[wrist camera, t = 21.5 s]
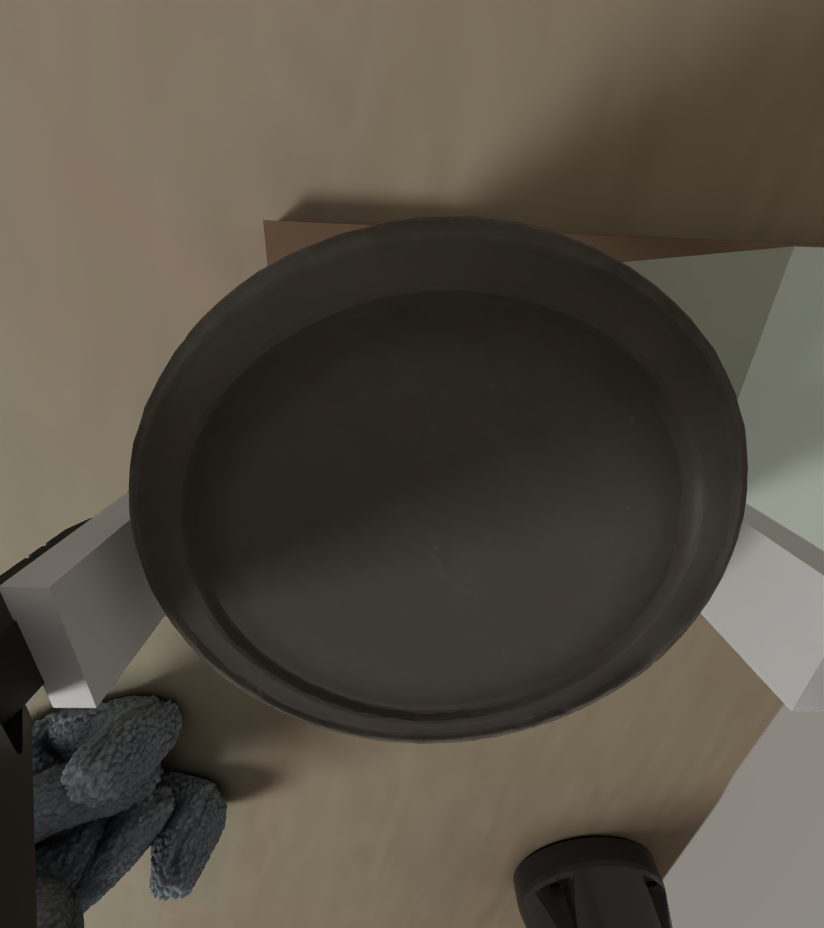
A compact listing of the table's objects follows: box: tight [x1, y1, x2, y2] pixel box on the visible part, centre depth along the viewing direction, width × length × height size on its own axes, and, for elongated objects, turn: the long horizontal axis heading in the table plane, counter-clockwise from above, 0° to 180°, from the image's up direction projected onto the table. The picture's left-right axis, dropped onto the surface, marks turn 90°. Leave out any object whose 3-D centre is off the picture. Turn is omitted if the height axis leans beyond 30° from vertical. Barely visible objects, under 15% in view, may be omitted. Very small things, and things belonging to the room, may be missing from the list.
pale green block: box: [622, 246, 824, 551], centre depth 16 cm, size 11×11×9 cm
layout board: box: [263, 220, 824, 266], centre depth 21 cm, size 13×27×2 cm, turn 88°
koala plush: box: [32, 695, 227, 928], centre depth 25 cm, size 17×18×20 cm
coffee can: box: [129, 217, 748, 744], centre depth 13 cm, size 10×10×14 cm
